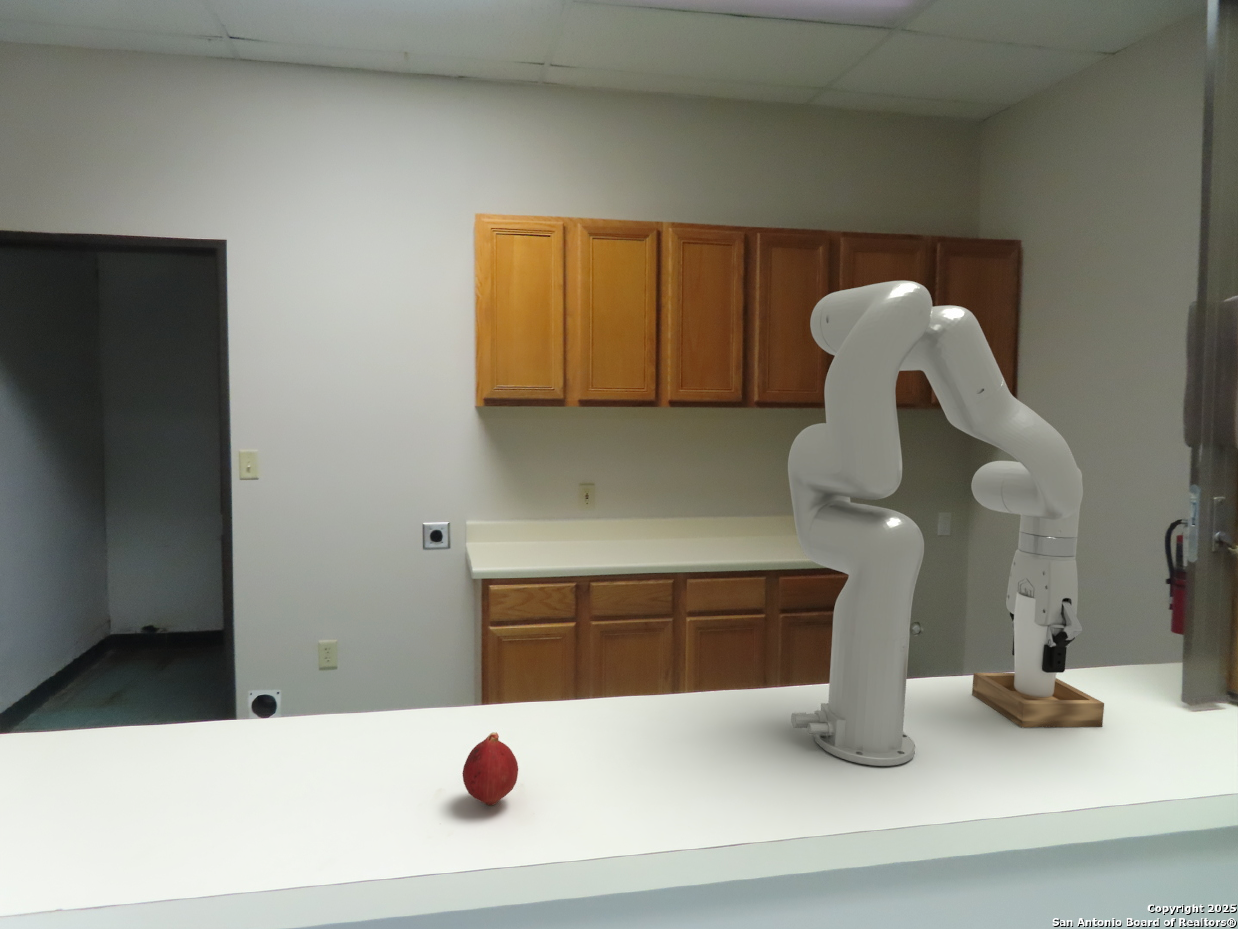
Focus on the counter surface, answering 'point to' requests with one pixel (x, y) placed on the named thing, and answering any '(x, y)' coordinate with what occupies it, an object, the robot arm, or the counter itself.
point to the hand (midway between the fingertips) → (1037, 662)
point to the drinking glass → (1030, 651)
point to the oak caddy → (1038, 703)
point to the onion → (490, 770)
